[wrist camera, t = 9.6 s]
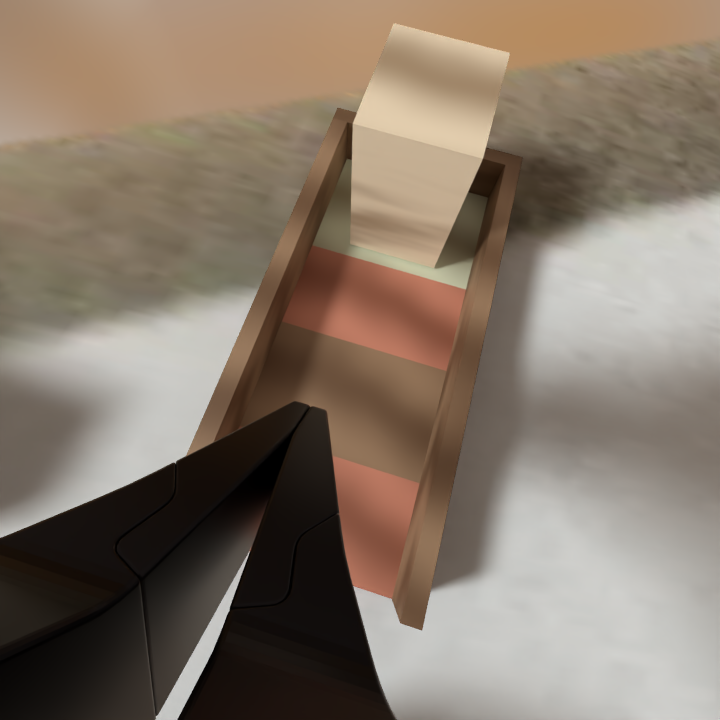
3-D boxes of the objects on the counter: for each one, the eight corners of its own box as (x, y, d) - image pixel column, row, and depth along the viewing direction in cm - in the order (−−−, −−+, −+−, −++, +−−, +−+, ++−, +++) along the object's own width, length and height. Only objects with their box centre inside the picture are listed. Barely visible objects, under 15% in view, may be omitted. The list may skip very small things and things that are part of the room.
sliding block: (433, 268, 24) (482, 158, 16) (350, 244, 24) (352, 123, 16) (455, 188, 26) (510, 52, 18) (378, 167, 26) (393, 23, 18)
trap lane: (406, 598, 19) (421, 630, 16) (187, 524, 20) (150, 538, 16) (497, 200, 27) (522, 157, 24) (338, 156, 28) (337, 107, 24)
